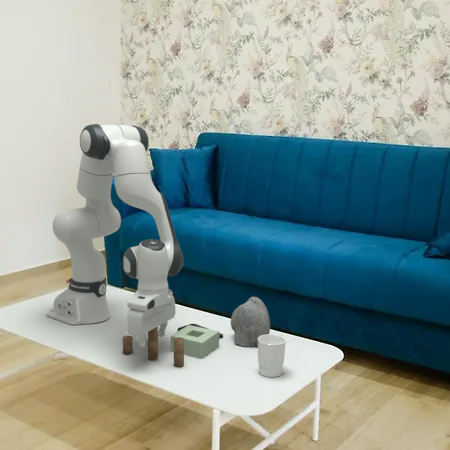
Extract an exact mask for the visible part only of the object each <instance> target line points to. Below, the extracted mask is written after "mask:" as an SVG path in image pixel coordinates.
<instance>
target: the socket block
mask: <svg viewBox="0 0 450 450" xmlns="http://www.w3.org/2000/svg"><path fill="white" fill-rule="evenodd" d="M187 325H188V326H186V325H185V326H186V327H185V328H183V329H181V330H180V331H178V330H177V332H175V333H173V334H171V335H170V352H172V353H174V338H177V337H181V338H184V356H187V357H188V356H189V357H194V358H197V359H204V358H205V357H206V356H207V355H209V354H210V353H212V352H214V351H215V350H216V349H218V348H219V347H220V339H219V333H220V331H219V330H215V329H209V328H208V329H206V328H207V327H205V328H201V327H196V326H191V325H189V324H187Z"/></svg>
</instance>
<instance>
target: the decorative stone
mask: <svg viewBox="0 0 450 450" xmlns="http://www.w3.org/2000/svg"><path fill="white" fill-rule="evenodd" d="M230 327H231V329H232V331H233V332H234V343H235V344H236V345H238V346H240V347H243V348H244V347H245V348H249V347H253V346H258V337H260V336H262V335H267V334H270V332H271V320H270V314H269V311H268V308H267V306H266V304H265V303H264V301H262V299H260V298H259V297H257V296H251V297H250V298H248V299H247V301H245V303H243V304H240V305H239V306H238V307H236V308H235V309H234V311H233V312H232V315H231V317H230Z"/></svg>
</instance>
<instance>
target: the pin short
mask: <svg viewBox="0 0 450 450" xmlns="http://www.w3.org/2000/svg"><path fill="white" fill-rule="evenodd" d="M133 337H134V336H132V335H124V336H122V354H123V355H125V356H130V355H132V354H133V353H134V346H133V345H134V340H133Z"/></svg>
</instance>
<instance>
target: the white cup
mask: <svg viewBox="0 0 450 450" xmlns="http://www.w3.org/2000/svg"><path fill="white" fill-rule="evenodd" d="M286 342H287V339H286V338H285V337H284V336H282V335H278V334H270V333H269V334H267V335H262V336H260V337H258V345H257V362H258V374H260V375H261V376H263V377H266V378H278V377H279V376H282V374H283V368H284V362H285V353H286Z"/></svg>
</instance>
